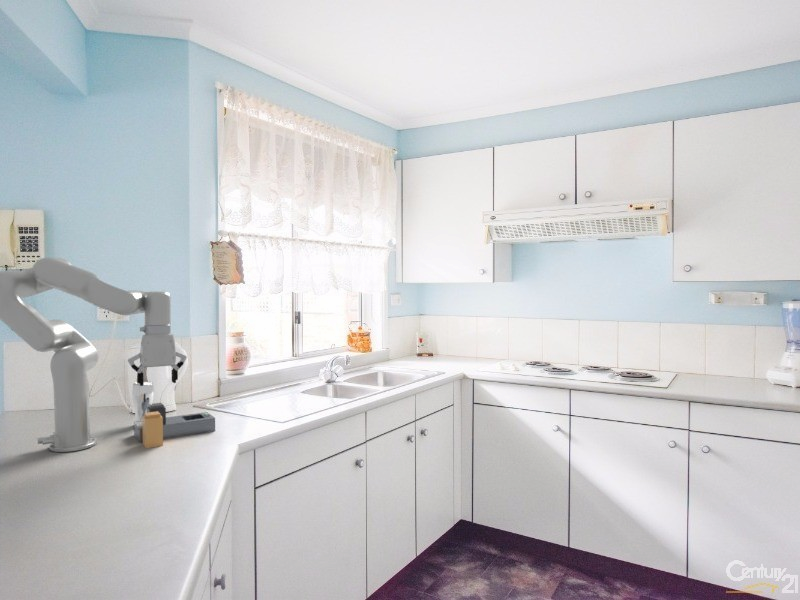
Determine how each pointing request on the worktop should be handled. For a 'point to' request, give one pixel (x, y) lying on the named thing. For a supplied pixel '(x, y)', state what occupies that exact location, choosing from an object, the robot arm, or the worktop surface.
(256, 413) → the worktop surface
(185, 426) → the power strip
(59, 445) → the robot arm
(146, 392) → the beer glass
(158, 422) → the plug
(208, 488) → the worktop surface
